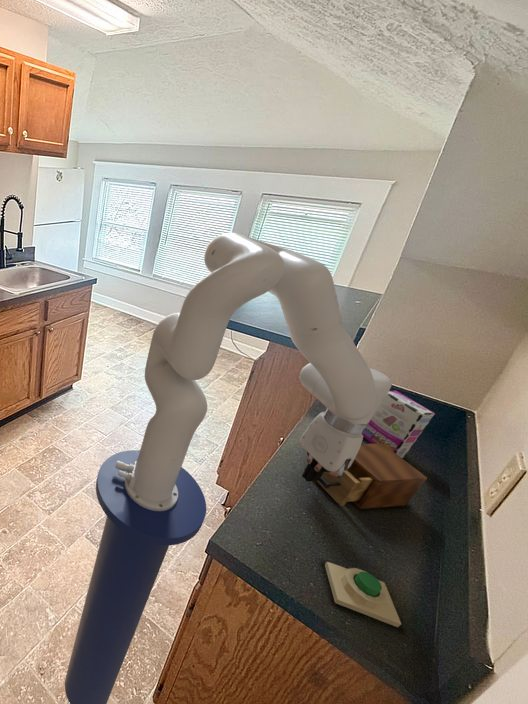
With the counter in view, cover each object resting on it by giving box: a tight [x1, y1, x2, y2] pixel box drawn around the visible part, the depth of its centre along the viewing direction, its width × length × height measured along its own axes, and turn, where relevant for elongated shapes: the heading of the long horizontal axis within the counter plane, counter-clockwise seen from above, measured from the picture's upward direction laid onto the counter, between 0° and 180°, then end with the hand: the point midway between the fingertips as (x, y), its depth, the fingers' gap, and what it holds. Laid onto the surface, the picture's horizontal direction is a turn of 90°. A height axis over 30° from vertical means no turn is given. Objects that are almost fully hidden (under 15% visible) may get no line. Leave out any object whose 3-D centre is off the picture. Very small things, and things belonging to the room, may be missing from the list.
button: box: [354, 571, 382, 596], centre depth 71 cm, size 4×4×2 cm
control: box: [324, 561, 402, 628], centre depth 72 cm, size 10×8×3 cm
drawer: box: [316, 461, 375, 507], centre depth 94 cm, size 17×10×8 cm, turn 99°
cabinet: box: [351, 443, 428, 510], centre depth 95 cm, size 14×12×10 cm
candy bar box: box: [362, 390, 436, 459], centre depth 110 cm, size 11×5×16 cm, turn 12°
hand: (309, 478), depth 92 cm, fingers closed
